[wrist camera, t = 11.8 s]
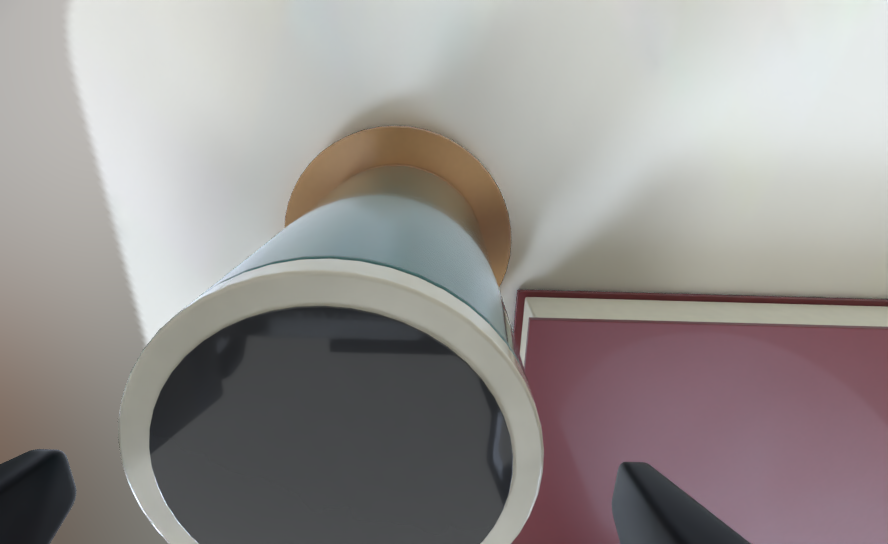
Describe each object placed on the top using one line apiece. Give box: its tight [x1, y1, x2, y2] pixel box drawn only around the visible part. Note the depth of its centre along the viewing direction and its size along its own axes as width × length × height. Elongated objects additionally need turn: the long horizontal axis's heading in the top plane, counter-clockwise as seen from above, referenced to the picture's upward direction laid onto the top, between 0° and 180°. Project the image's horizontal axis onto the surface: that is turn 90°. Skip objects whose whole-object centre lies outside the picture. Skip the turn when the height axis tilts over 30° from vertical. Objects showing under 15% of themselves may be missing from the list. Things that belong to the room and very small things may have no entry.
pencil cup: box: [118, 163, 544, 544], centre depth 13 cm, size 13×7×13 cm
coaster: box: [285, 125, 511, 287], centre depth 19 cm, size 9×9×1 cm
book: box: [512, 290, 888, 544], centre depth 21 cm, size 15×21×3 cm
